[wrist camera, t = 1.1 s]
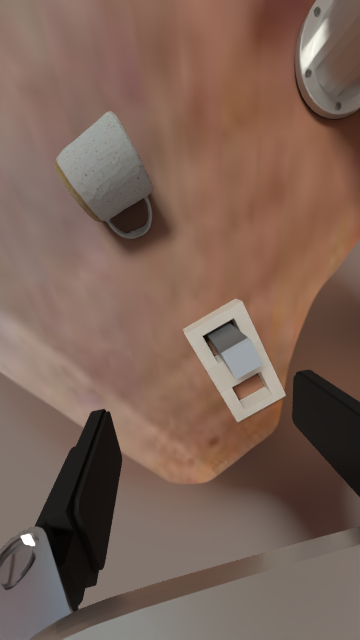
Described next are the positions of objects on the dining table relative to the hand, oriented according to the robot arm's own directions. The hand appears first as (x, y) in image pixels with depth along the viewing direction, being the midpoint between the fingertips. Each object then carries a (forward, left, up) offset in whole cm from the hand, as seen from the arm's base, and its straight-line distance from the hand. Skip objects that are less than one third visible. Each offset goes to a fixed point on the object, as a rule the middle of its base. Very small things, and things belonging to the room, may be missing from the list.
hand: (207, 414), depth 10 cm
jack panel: (-5, +13, -22) cm, 26 cm away
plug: (-5, +8, -22) cm, 24 cm away
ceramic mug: (-2, -17, -23) cm, 28 cm away
